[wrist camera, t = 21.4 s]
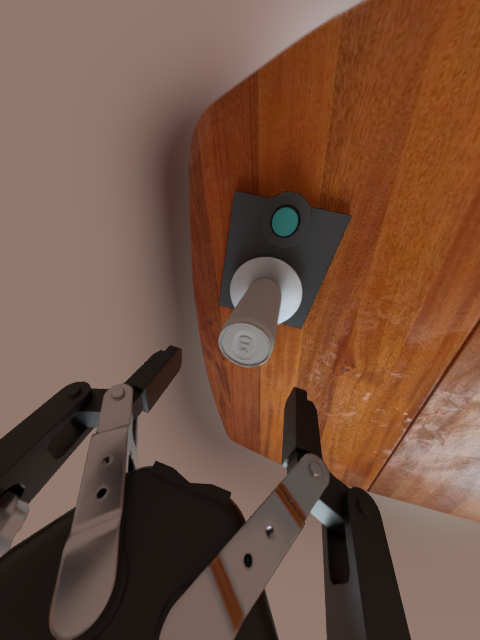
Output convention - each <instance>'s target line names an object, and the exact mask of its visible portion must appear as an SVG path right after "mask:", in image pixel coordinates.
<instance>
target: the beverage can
mask: <svg viewBox="0 0 480 640" xmlns="http://www.w3.org/2000/svg"><path fill="white" fill-rule="evenodd" d="M281 297H282V295H281V291H280V288H279V286H278V285H277V284H276V283H275V282H274V281H272V280H270V279H264V278H263V279H258V280H256V281H254V282H253V283H252V284H251V285H250V286H249V288H248V289H247V291H246V292H245V294H244V295H243V297H242V298H241V300H240V301H239V302H238V304H237V305H236V307H235V309H234V310H233V312H232V313H231V315H230V316H229V318H228V319H227V321H226V322H225V324H224V326H223V327H222V329H221V333H220V336H219V347H220V350H221V352H222V353H223V355H224V356H225V357H226V358H227V359H228V360H230V361H231V362H233V363H234V364H237V365H239V366H243V367H256V366H260V365H262V364H264V363H265V362H266V361H267V360H268V359H269V357H270V355H271V353H272V351H273V349H274V343H275V337H276V331H277V324H278V318H279V311H280V305H281Z"/></svg>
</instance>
